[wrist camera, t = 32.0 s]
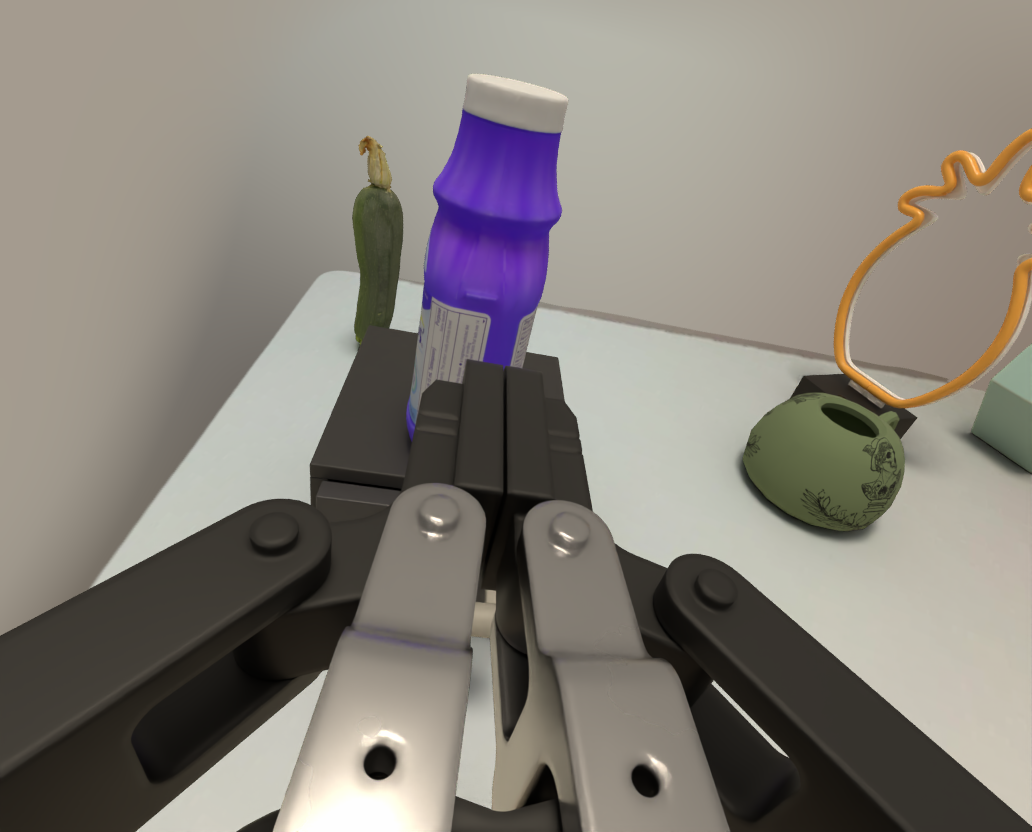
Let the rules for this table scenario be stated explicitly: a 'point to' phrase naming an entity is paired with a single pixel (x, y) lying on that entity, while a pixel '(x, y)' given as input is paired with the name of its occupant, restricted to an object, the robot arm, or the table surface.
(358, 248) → the vegetable
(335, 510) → the drawer
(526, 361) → the cabinet
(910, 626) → the table surface
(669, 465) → the table surface
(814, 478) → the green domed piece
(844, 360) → the lamp
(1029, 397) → the green magazine holder
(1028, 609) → the table surface
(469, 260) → the bottle
